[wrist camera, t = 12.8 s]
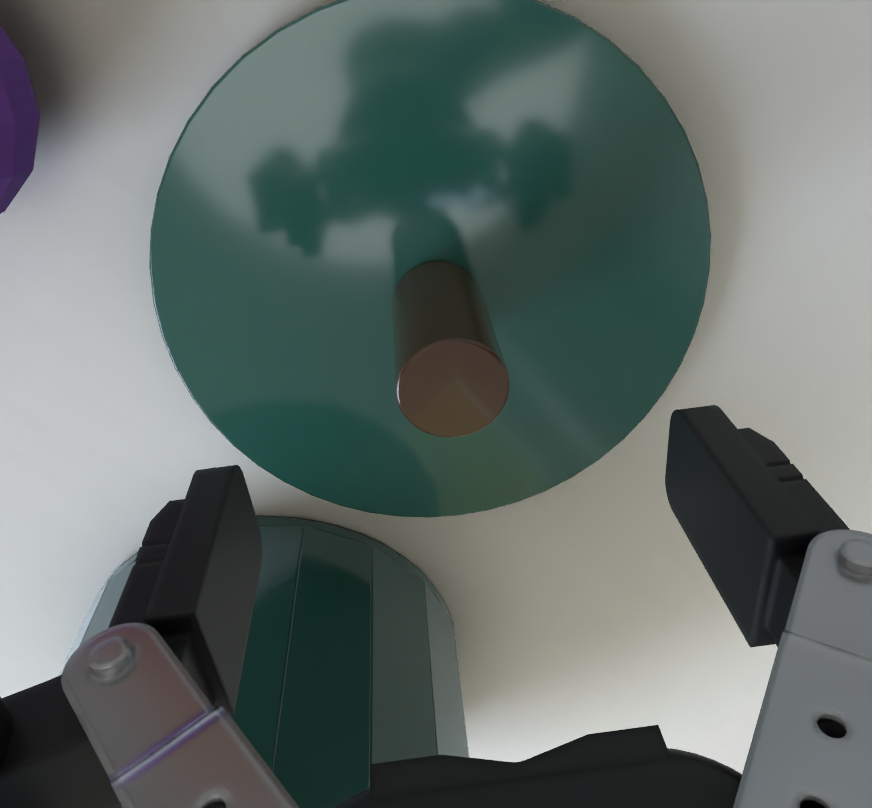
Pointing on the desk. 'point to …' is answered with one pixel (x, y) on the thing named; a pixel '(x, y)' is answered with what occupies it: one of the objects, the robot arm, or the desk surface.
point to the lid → (430, 252)
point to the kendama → (15, 121)
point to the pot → (336, 660)
